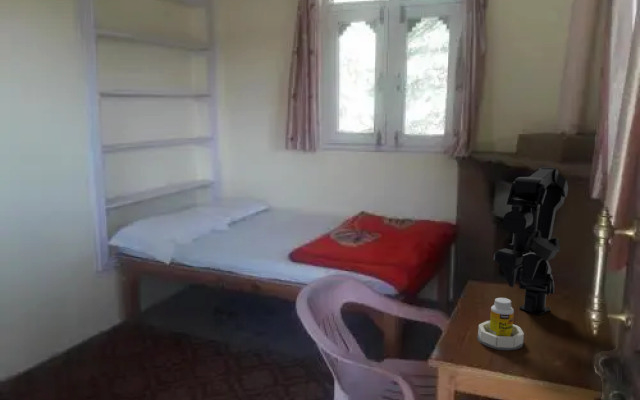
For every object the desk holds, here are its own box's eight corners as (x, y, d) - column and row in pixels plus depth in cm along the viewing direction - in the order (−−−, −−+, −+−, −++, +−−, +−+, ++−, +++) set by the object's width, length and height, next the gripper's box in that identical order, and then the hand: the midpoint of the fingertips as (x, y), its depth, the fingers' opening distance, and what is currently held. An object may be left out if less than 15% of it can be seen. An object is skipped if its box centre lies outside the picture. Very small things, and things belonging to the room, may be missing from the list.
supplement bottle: (496, 343, 134) (499, 305, 132) (484, 334, 139) (487, 297, 137) (516, 341, 135) (519, 303, 133) (503, 332, 140) (506, 295, 138)
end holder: (493, 327, 145) (494, 316, 144) (531, 341, 136) (532, 330, 136) (468, 338, 138) (469, 327, 137) (507, 354, 129) (508, 342, 129)
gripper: (535, 237, 127) (530, 299, 130) (573, 226, 138) (567, 283, 141) (494, 229, 135) (490, 287, 138) (533, 219, 147) (528, 273, 150)
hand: (521, 283), depth 141 cm, fingers open, 9 cm apart
